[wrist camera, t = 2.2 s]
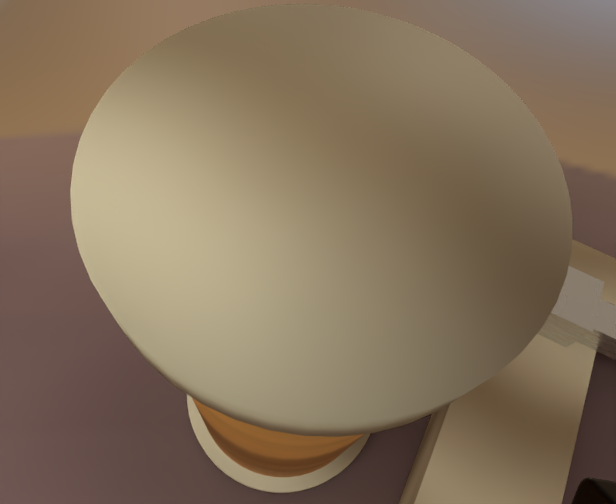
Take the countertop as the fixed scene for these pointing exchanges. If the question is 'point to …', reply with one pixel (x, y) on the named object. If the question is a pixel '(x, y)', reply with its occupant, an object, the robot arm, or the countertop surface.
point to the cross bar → (582, 315)
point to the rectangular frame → (513, 422)
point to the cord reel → (318, 229)
